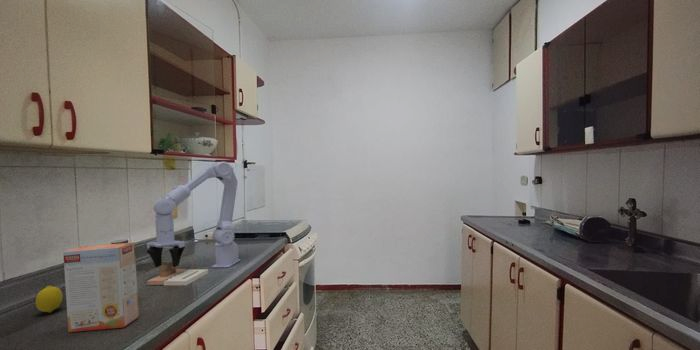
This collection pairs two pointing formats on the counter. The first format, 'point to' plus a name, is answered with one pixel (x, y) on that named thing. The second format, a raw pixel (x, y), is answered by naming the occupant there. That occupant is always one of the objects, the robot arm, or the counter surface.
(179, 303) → the counter surface
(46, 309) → the lemon
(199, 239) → the counter surface
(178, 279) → the board
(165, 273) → the stub
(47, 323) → the counter surface
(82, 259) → the cracker box
